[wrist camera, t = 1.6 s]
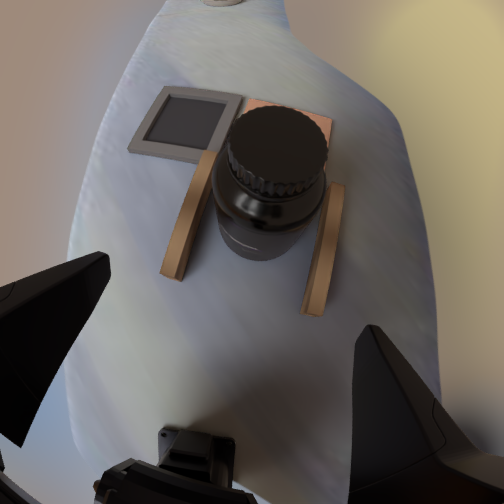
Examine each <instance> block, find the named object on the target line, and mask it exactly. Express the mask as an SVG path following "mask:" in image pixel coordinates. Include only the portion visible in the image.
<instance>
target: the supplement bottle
mask: <svg viewBox="0 0 504 504" xmlns="http://www.w3.org/2000/svg"><path fill="white" fill-rule="evenodd" d="M327 143H328V142H327V141H326V139H325V134H324V133H323V132H322V131H321V128H320V127H319V126H318V125H317V124H316V122H315V121H313V120H311V119H310V117H309V116H307V115H304V114H303V113H302V112H301V111H296V110H295V109H293V108H287V107H285V106H276V105H272V106H266V105H265V106H263V107H256V108H255V109H253V110H249V111H248V112H247V113H245V114H242V115H241V117H240V118H238V119H237V120H236V122H235V124H234V125H233V126H232V127H231V132H230V133H229V141H228V144H227V145H226V146H225V147H224V149H223V150H222V151H221V152H220V154H219V155H218V157H217V159H216V161H215V164H214V167H213V171H212V190H213V196H214V202H215V208H216V214H217V219H218V225H219V229H220V233H221V235H222V238H223V240H224V241H225V243H226V244H227V246H228V247H229V248H230V249H231V250H232V251H233V252H235V253H236V254H238V255H239V256H241V257H243V258H246V259H249V260H254V261H267V260H271V259H274V258H277V257H279V256H281V255H282V254H284V253H285V252H286V251H287V250H289V249H290V247H291V246H292V245H293V244H294V243H295V241H296V240H297V239H298V238H299V236H300V235H301V234H302V233H303V231H304V230H305V229H306V227H307V226H308V225H309V223H310V222H311V221H312V220H313V218H314V217H315V216H316V214H317V213H318V211H319V210H320V208H321V206H322V204H323V202H324V199H325V195H326V187H327V182H326V175H325V171H324V166H325V163H326V161H327V158H328V157H327V153H328V148H327Z"/></svg>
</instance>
